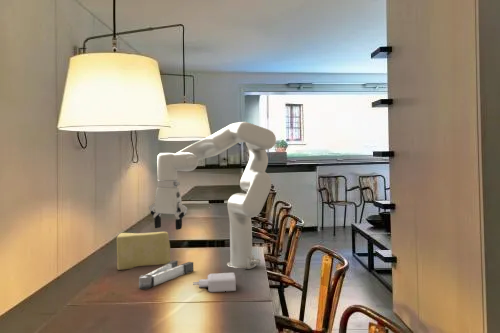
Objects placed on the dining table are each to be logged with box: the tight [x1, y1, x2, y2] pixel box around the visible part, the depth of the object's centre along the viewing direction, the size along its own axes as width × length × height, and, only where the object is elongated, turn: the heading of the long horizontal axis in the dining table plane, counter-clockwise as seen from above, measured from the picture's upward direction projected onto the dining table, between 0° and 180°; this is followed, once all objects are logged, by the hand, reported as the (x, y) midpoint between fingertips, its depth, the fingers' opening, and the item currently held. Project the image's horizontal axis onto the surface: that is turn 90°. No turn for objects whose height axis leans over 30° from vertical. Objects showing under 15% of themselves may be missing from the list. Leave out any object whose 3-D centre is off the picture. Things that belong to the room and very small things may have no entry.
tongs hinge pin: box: [138, 274, 152, 290], centre depth 151 cm, size 4×4×4 cm
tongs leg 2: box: [152, 261, 194, 287], centre depth 162 cm, size 22×2×4 cm, turn 150°
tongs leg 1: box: [145, 259, 179, 276], centre depth 164 cm, size 22×2×4 cm, turn 162°
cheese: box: [116, 231, 172, 271], centre depth 184 cm, size 22×10×15 cm, turn 96°
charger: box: [192, 272, 237, 293], centre depth 152 cm, size 5×9×15 cm
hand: (168, 228), depth 164 cm, fingers open, 9 cm apart
